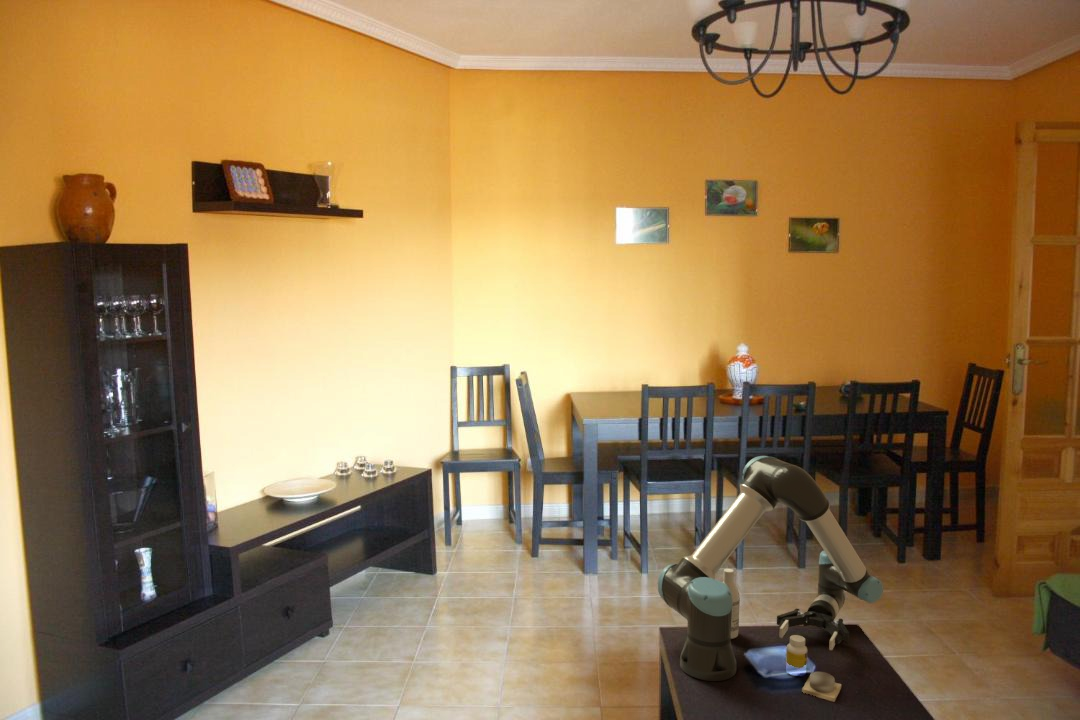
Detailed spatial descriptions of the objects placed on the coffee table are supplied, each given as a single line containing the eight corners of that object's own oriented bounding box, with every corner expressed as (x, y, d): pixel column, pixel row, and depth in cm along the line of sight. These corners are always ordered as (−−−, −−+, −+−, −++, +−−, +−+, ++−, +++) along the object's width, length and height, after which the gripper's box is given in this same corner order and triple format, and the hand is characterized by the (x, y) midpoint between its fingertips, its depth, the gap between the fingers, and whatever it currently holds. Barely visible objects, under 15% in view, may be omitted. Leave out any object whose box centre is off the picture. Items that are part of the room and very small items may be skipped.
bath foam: (739, 630, 233) (741, 567, 230) (737, 641, 226) (740, 576, 224) (715, 627, 235) (717, 564, 232) (713, 637, 228) (715, 573, 226)
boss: (802, 692, 198) (802, 679, 198) (809, 679, 205) (810, 666, 204) (834, 702, 194) (835, 688, 193) (841, 687, 200) (841, 675, 200)
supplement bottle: (807, 678, 205) (809, 643, 204) (786, 676, 206) (788, 641, 205) (804, 668, 210) (806, 634, 209) (784, 666, 211) (785, 632, 210)
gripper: (866, 633, 226) (851, 664, 208) (780, 613, 240) (760, 640, 222) (867, 609, 225) (853, 637, 208) (781, 590, 239) (761, 615, 221)
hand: (805, 639), depth 215 cm, fingers open, 13 cm apart
